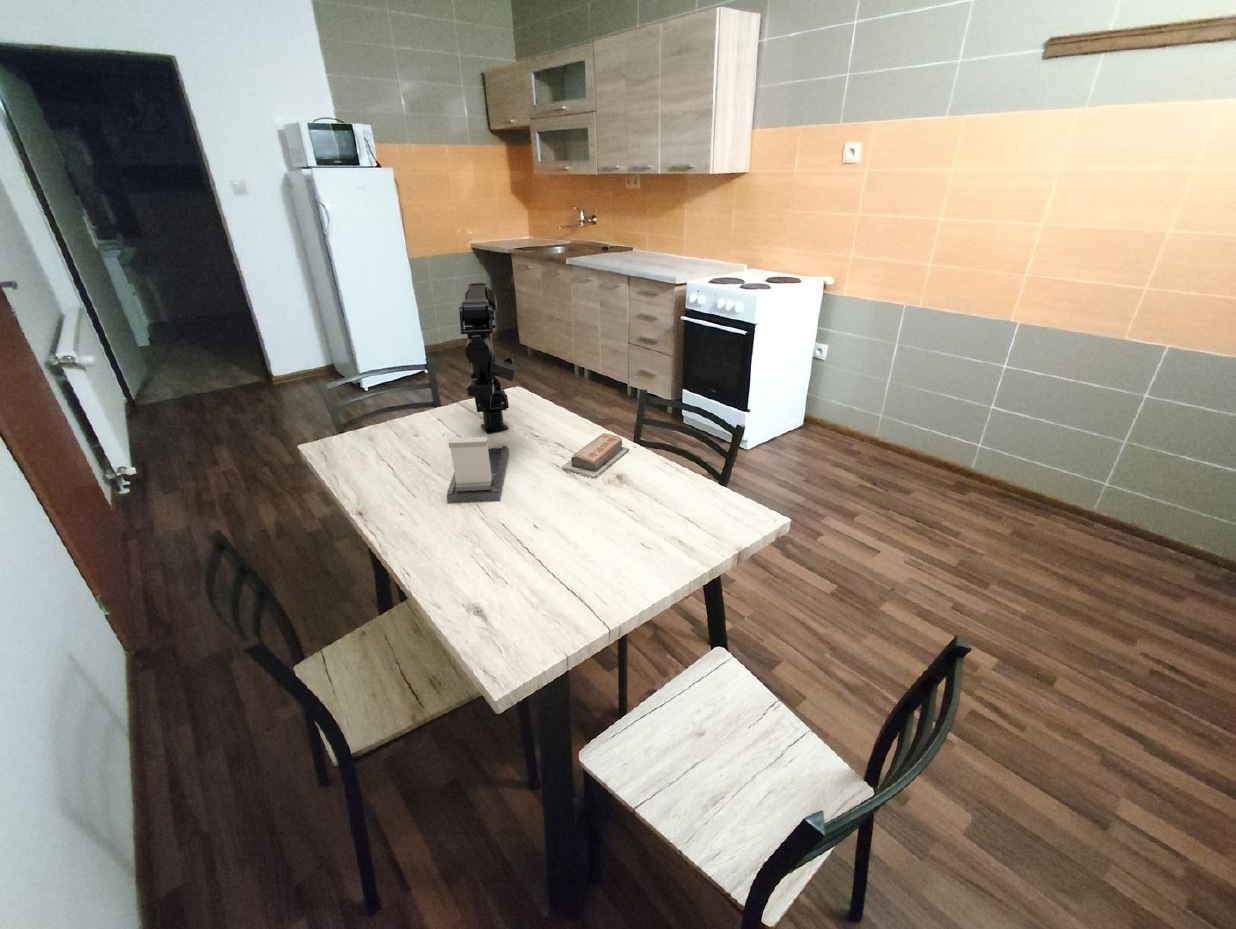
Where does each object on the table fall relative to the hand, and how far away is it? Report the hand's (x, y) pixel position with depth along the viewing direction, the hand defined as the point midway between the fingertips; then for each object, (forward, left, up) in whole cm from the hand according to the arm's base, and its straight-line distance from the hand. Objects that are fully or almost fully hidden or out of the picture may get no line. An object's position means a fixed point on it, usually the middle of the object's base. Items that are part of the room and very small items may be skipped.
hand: (488, 409), depth 150 cm
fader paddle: (+21, -11, -10) cm, 25 cm away
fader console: (+13, -8, -12) cm, 19 cm away
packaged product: (+20, +22, -13) cm, 32 cm away
